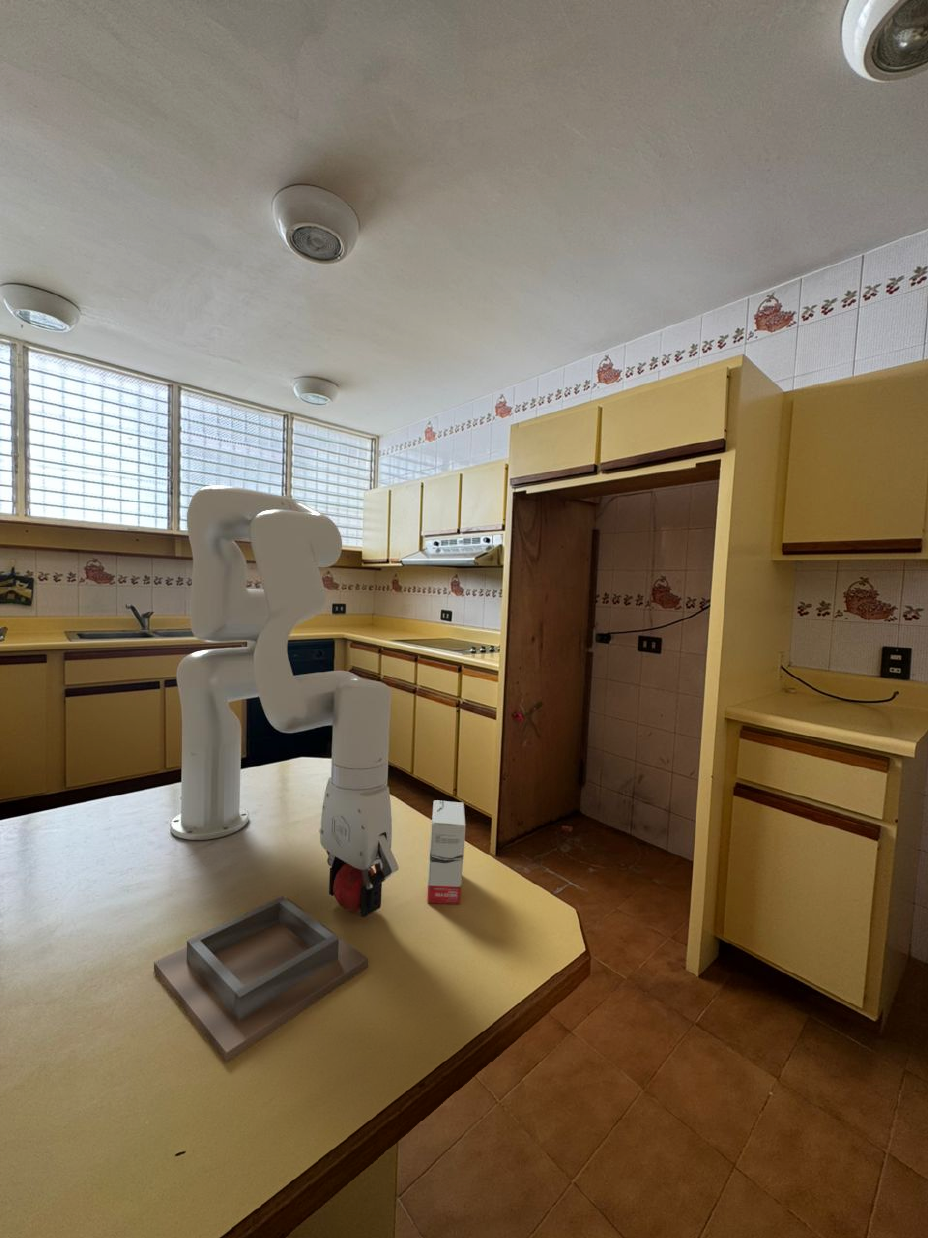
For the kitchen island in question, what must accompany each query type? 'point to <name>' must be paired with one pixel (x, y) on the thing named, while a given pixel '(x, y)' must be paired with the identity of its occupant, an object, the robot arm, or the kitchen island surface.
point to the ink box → (446, 852)
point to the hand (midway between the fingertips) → (354, 900)
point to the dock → (257, 973)
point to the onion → (349, 887)
